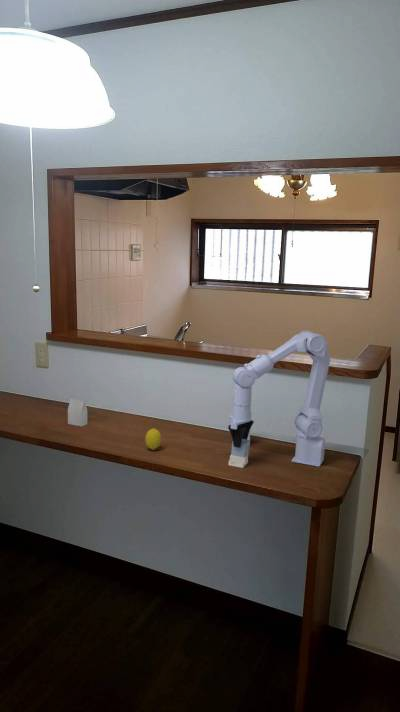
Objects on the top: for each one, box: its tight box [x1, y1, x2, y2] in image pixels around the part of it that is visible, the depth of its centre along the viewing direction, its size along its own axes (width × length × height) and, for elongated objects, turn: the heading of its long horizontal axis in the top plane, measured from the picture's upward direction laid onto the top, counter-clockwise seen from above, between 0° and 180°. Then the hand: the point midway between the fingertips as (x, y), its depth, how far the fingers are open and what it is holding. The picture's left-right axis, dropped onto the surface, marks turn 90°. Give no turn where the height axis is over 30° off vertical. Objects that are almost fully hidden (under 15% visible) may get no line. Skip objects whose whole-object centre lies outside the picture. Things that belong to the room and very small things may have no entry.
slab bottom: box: [228, 459, 249, 469], centre depth 170 cm, size 5×5×2 cm
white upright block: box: [67, 398, 88, 427], centre depth 206 cm, size 4×7×10 cm, turn 66°
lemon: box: [145, 427, 162, 451], centre depth 180 cm, size 6×6×8 cm
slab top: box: [229, 453, 249, 464], centre depth 170 cm, size 5×5×2 cm
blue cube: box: [230, 439, 251, 457], centre depth 169 cm, size 4×4×4 cm
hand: (240, 444), depth 169 cm, fingers open, 5 cm apart
